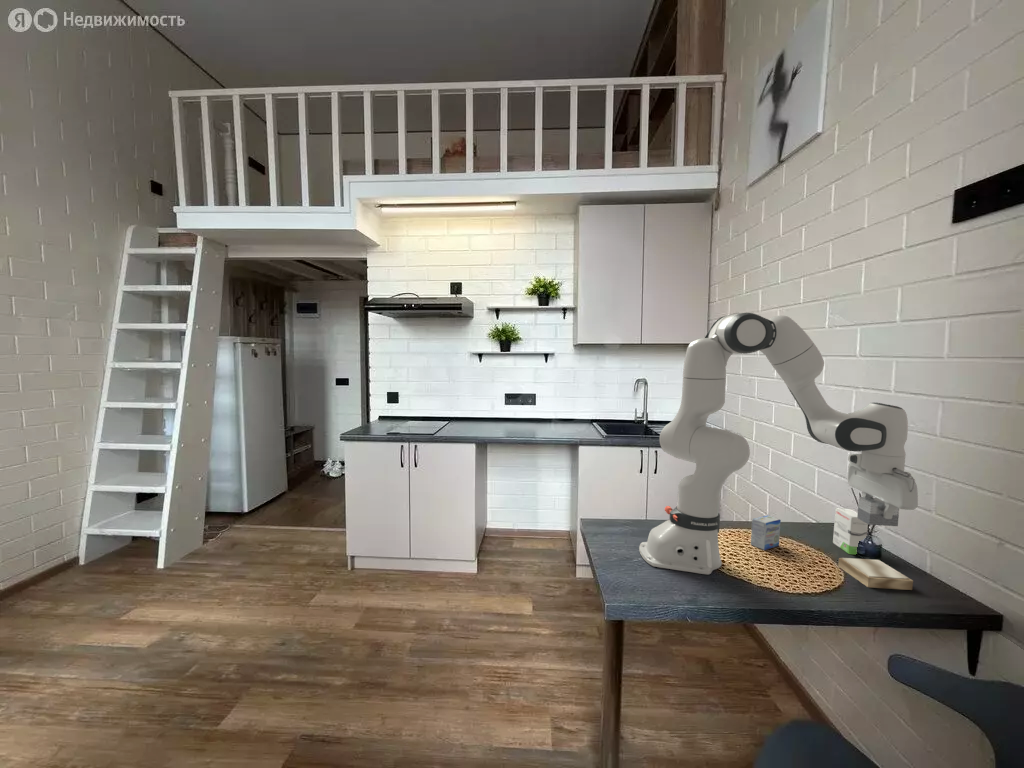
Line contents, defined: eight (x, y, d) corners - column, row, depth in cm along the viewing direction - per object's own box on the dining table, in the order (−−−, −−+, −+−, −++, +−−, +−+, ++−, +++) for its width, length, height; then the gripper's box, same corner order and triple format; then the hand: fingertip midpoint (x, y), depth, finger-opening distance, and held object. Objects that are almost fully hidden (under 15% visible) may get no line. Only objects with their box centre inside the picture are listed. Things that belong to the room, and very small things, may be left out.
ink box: (866, 556, 128) (869, 518, 128) (848, 554, 129) (851, 516, 128) (848, 543, 137) (851, 508, 136) (831, 542, 138) (834, 507, 137)
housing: (897, 526, 112) (899, 504, 112) (869, 524, 113) (871, 502, 112) (884, 519, 116) (886, 498, 116) (857, 518, 117) (859, 497, 117)
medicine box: (763, 550, 130) (766, 523, 129) (750, 544, 134) (751, 518, 133) (779, 546, 134) (781, 519, 133) (765, 540, 137) (767, 514, 137)
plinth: (867, 587, 110) (868, 576, 110) (838, 566, 121) (838, 556, 121) (912, 590, 110) (913, 579, 109) (878, 568, 121) (879, 559, 120)
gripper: (928, 475, 103) (923, 530, 104) (867, 454, 123) (863, 501, 124) (900, 474, 103) (895, 529, 104) (844, 453, 124) (840, 499, 125)
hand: (877, 513), depth 114 cm, fingers closed on housing, 4 cm apart
